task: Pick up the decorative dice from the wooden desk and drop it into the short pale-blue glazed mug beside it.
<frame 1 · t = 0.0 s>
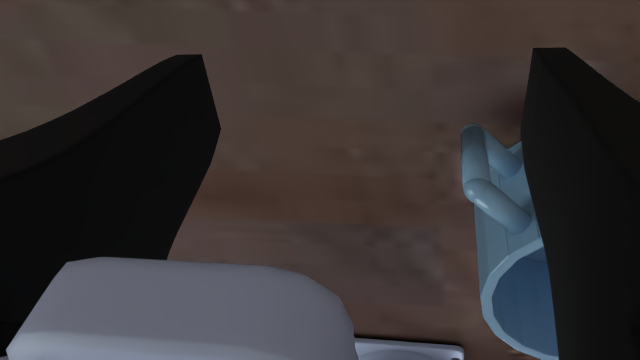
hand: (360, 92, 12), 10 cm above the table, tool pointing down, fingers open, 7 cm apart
mug: (568, 200, 26), on the table
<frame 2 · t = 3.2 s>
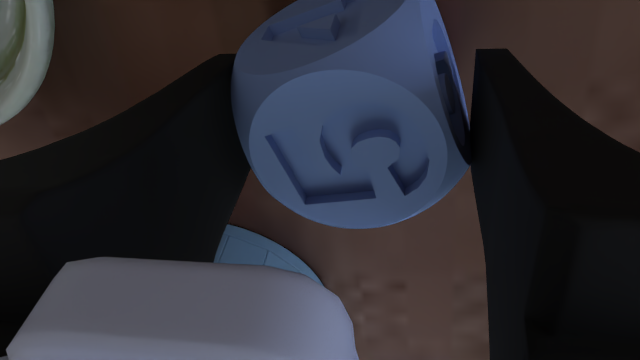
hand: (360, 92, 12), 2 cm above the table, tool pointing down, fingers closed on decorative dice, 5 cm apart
decorative dice: (366, 53, 14), on the table, touching gripper
mug: (221, 299, 21), on the table
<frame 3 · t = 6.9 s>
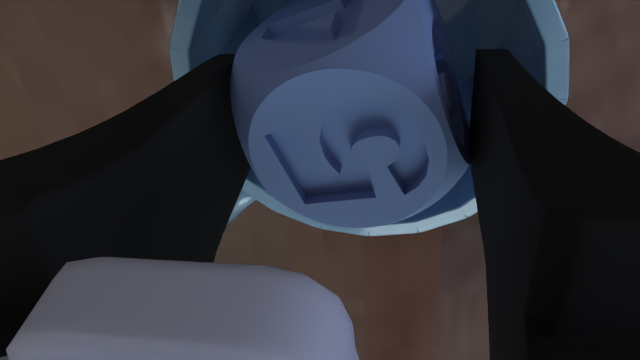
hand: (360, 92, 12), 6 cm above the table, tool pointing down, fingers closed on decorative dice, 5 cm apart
decorative dice: (366, 53, 14), point 4 cm above the table, touching gripper
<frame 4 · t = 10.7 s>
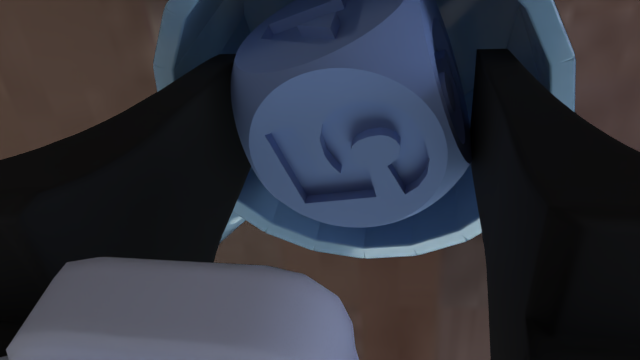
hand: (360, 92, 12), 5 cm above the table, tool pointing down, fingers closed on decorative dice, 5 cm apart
decorative dice: (366, 52, 14), point 3 cm above the table, touching gripper
mug: (377, 2, 16), on the table
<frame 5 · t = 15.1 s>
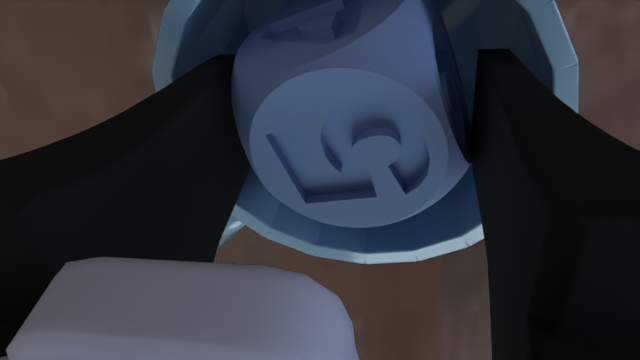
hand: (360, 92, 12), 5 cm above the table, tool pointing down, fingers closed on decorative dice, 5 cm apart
decorative dice: (367, 52, 14), point 3 cm above the table, touching gripper
mug: (378, 5, 16), on the table
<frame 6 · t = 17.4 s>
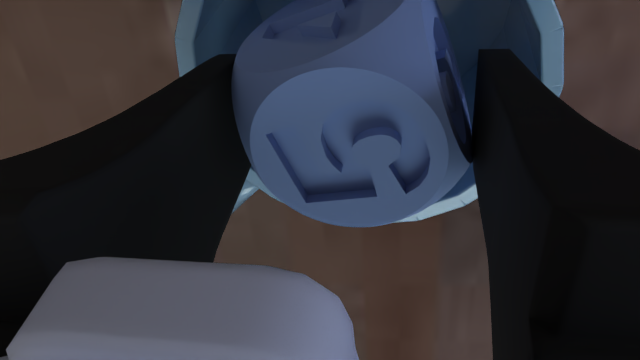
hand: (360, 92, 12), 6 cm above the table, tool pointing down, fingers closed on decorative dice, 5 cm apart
decorative dice: (367, 52, 14), point 4 cm above the table, touching gripper
when the fingers open (7 cm above the table, at t = 19.1 s): decorative dice drops 4 cm, resting on mug.
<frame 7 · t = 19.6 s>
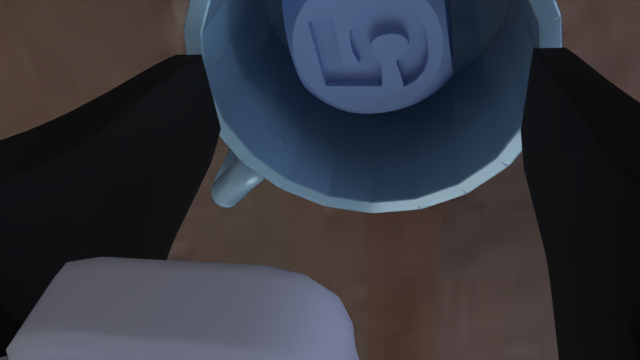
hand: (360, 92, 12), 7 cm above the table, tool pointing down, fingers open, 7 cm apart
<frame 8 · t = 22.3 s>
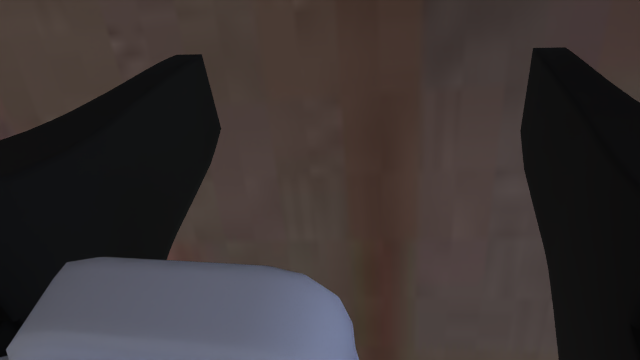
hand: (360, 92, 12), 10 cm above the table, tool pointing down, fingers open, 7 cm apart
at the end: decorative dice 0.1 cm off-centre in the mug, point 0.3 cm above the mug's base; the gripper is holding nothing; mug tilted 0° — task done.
